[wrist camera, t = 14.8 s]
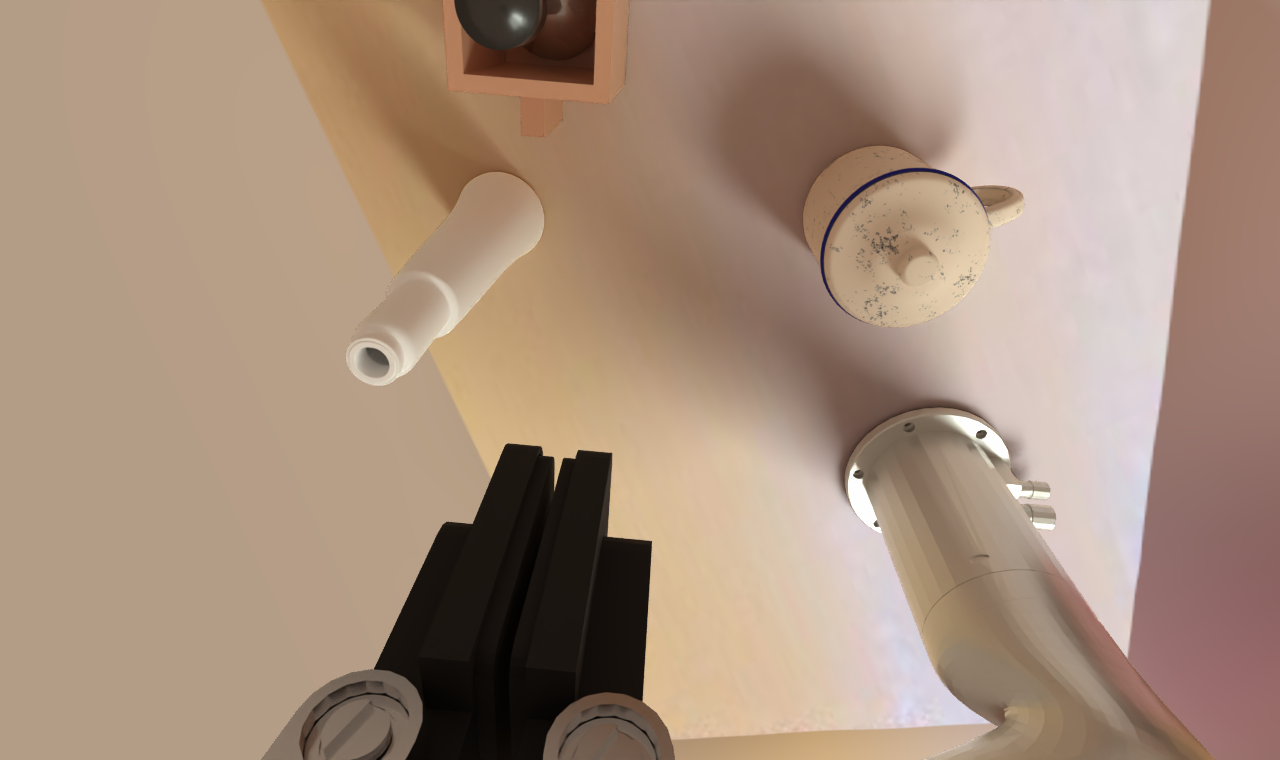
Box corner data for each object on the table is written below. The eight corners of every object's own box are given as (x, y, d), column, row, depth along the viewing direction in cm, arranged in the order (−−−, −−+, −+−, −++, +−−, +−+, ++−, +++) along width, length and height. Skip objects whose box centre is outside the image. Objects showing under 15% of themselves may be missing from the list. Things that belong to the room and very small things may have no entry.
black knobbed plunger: (607, -50, 37) (569, -78, 24) (602, 63, 39) (566, 88, 27) (505, -58, 37) (416, -91, 25) (507, 55, 39) (429, 77, 27)
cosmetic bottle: (477, 266, 48) (340, 437, 29) (444, 183, 46) (268, 312, 26) (556, 246, 47) (468, 410, 28) (527, 160, 44) (408, 276, 25)
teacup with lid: (812, 291, 48) (847, 368, 38) (785, 165, 44) (815, 213, 33) (990, 243, 45) (1079, 311, 35) (978, 105, 41) (1075, 137, 31)
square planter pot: (633, -70, 38) (618, -93, 29) (622, 118, 43) (607, 146, 34) (493, -81, 38) (436, -108, 29) (498, 107, 43) (450, 132, 34)
